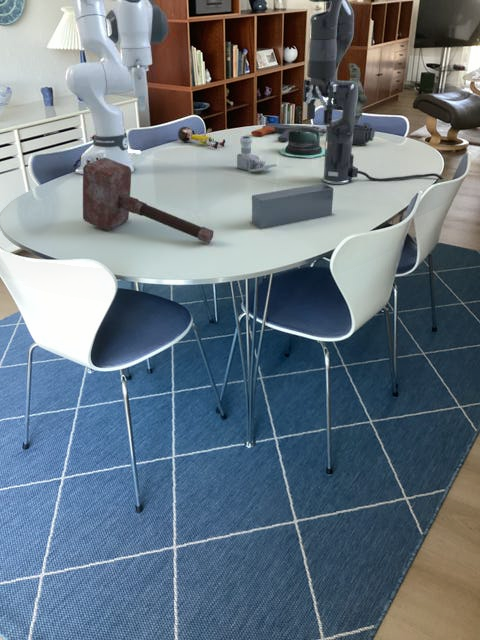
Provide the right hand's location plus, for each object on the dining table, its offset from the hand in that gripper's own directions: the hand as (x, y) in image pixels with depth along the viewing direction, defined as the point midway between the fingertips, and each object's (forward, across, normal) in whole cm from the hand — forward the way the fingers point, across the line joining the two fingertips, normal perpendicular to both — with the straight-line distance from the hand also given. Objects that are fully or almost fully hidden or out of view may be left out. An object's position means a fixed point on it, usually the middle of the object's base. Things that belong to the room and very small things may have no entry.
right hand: (318, 121), depth 156 cm
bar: (+27, 0, +8) cm, 28 cm away
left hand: (-2, +38, +40) cm, 55 cm away
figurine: (+27, +104, -4) cm, 107 cm away
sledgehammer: (+27, +9, +49) cm, 57 cm away
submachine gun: (+27, +98, -46) cm, 112 cm away
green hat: (+27, +68, -37) cm, 82 cm away
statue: (+27, +91, -80) cm, 124 cm away
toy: (+27, +69, -65) cm, 98 cm away
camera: (+27, +53, -6) cm, 60 cm away
